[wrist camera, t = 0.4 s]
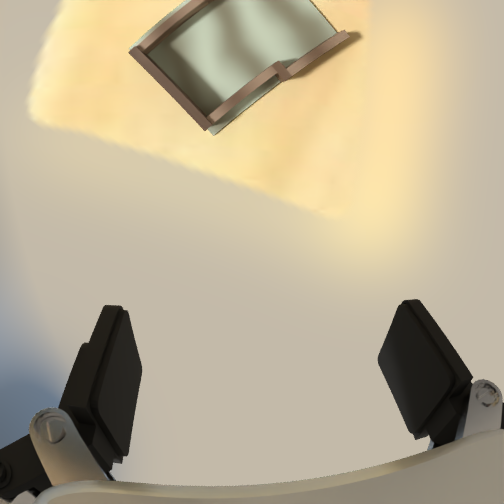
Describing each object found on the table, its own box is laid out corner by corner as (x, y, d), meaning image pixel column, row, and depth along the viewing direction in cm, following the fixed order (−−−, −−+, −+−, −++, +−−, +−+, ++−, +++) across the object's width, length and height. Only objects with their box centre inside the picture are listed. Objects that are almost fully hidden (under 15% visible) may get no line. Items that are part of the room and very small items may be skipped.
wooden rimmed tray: (260, -47, 24) (263, -59, 21) (340, 39, 31) (351, 36, 28) (129, 49, 29) (121, 45, 26) (213, 135, 35) (212, 139, 32)
